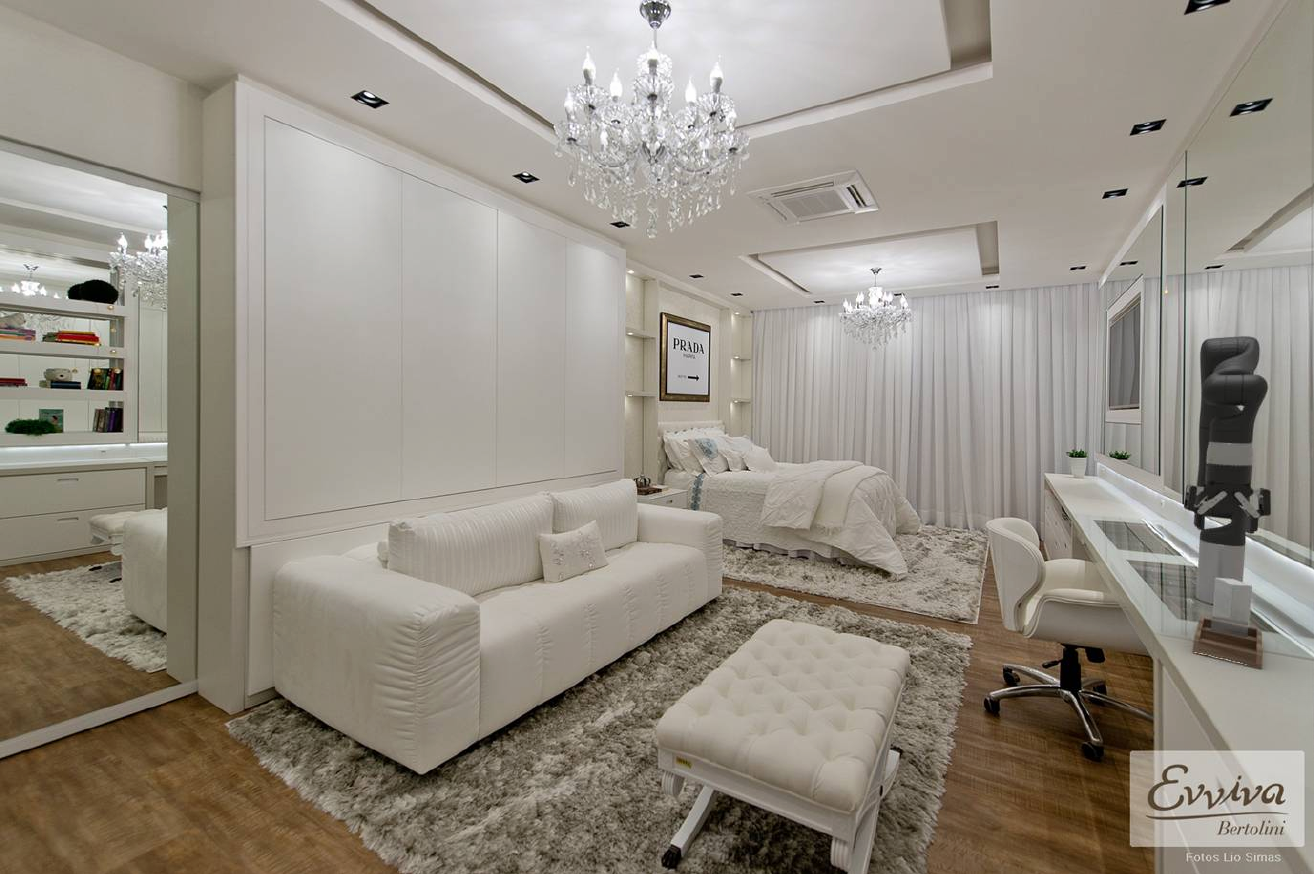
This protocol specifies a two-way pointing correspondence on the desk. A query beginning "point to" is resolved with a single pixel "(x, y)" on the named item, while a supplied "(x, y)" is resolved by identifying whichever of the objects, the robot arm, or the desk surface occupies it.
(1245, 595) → the skincare box
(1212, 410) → the robot arm
